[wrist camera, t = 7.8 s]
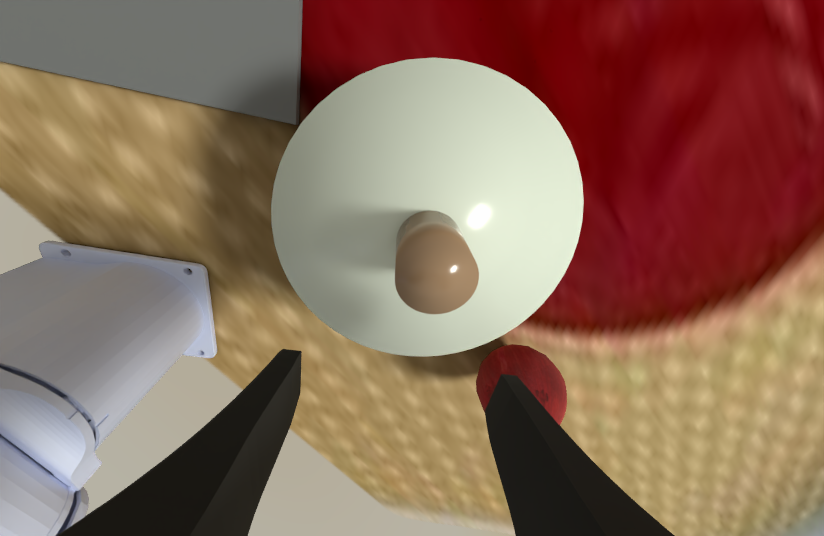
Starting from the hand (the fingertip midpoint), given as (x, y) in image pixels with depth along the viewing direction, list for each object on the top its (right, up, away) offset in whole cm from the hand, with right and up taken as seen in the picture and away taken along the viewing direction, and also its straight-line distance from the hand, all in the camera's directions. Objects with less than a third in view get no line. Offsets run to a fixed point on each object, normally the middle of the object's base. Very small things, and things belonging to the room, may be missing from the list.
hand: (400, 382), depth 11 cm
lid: (+1, +6, +4) cm, 7 cm away
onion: (+8, -3, +13) cm, 16 cm away
